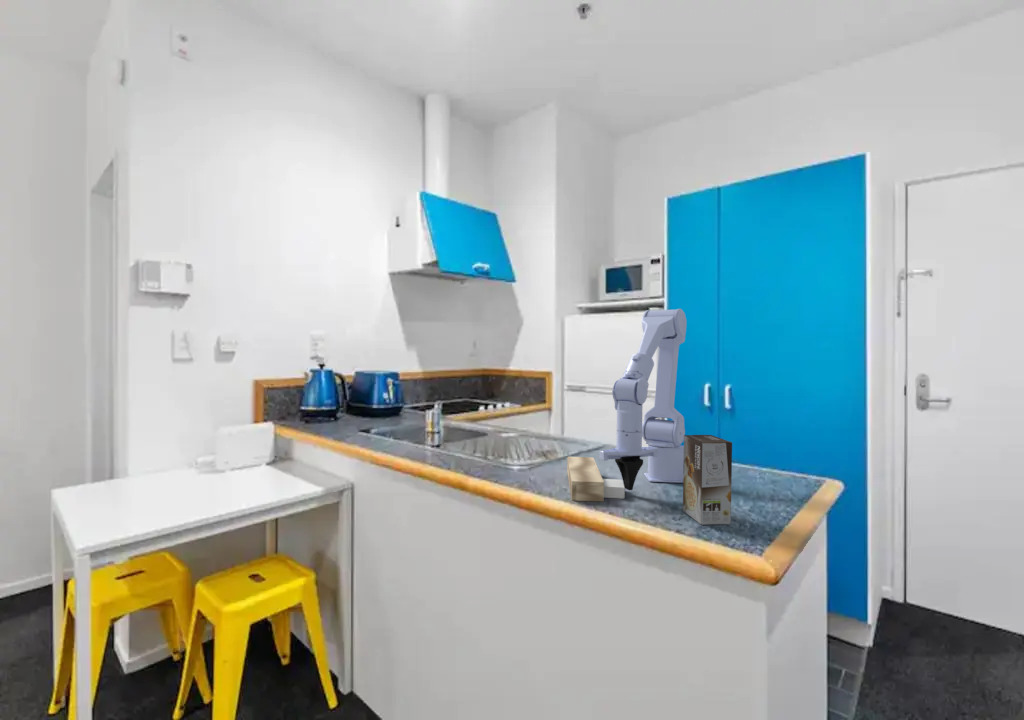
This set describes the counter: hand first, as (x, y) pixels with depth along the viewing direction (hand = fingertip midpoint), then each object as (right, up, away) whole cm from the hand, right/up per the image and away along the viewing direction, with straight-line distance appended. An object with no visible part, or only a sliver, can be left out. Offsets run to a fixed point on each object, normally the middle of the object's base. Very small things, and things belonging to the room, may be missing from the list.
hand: (628, 489), depth 117 cm
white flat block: (-6, -1, +1) cm, 6 cm away
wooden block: (-9, -1, +8) cm, 12 cm away
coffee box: (+12, -2, -15) cm, 19 cm away
